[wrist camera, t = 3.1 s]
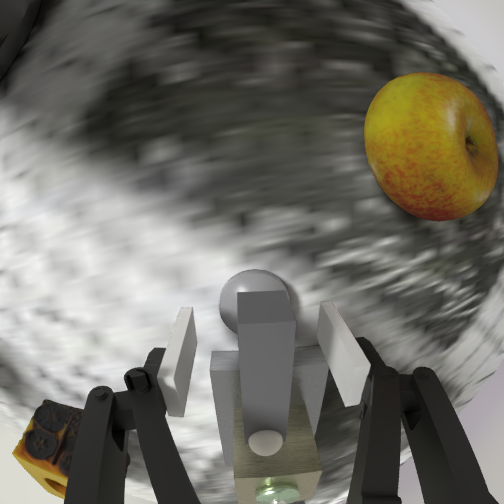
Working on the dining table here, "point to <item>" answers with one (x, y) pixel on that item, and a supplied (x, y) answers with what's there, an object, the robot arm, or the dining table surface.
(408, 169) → the fruit
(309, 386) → the level base
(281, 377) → the knob
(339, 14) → the dining table surface
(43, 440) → the candle
